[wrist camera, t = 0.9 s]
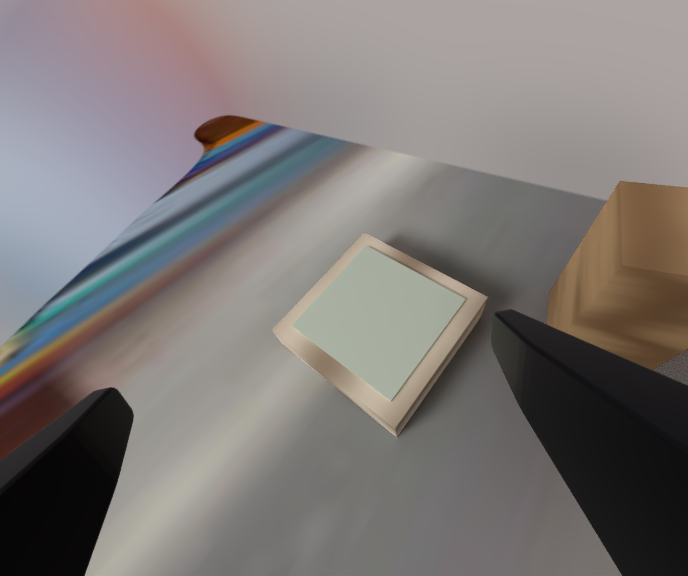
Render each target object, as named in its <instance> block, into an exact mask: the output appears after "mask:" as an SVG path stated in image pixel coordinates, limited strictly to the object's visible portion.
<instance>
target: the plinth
mask: <svg viewBox="0 0 688 576" xmlns="http://www.w3.org/2000/svg"><path fill="white" fill-rule="evenodd" d="M487 299H488V297H487V296H485V295H483V294H481V293H479V292H477V291H475V290H473V289H471V288H470V287H468V286H466V285H464V284H462V283H460V282H458V281H456V280H454V279H452V278H450V277H448V276H447V275H445V274H443V273H441V272H439V271H437V270H435V269H433V268H431V267H429V266H427V265H425V264H424V263H422V262H420V261H418V260H416V259H414V258H412V257H410V256H408V255H406V254H404V253H402V252H400V251H399V250H397V249H395V248H393V247H391V246H389V245H387V244H385V243H383V242H381V241H379V240H377V239H376V238H374V237H372V236H370V235H368V234H366V233H364V234H363V235H362V236H361V237H360V238H359V239H358V240H357V241H356V242H355V243H354V244H353V245H352V246H351V247H350V248H349V249H348V250H347V252H346V253H345V254H344V255H343V256H342V257H341V258H340V259H339V260H338V261H337V262H336V263H335V264H334V265H333V266H332V267H331V268H330V269H329V271H328V272H327V273H326V274H325V275H324V276H323V277H322V278H321V279H320V280H319V281H318V282H317V283H316V284H315V285H314V286H313V287H312V288H311V290H310V291H309V292H308V293H307V294H306V295H305V296H304V297H303V298H302V299H301V300H300V301H299V302H298V303H297V304H296V305H295V306H294V307H293V309H292V310H291V311H290V312H289V313H288V314H287V315H286V316H285V317H284V318H283V319H282V320H281V321H280V322H279V323H278V324H277V325H276V326H275V328H274V329H273V330H272V331H273V332H274V333H275V335H276V336H277V337H278V339H279V340H280V341H281V343H282V344H283V345H284V346H285V347H286V348H287V349H288V350H289V351H291V352H292V353H293V354H294V355H296V356H297V357H298V358H299V359H301V360H302V361H303V362H304V363H305V364H307V365H308V366H309V367H310V368H312V369H313V370H314V371H315V372H317V373H318V374H319V375H320V376H322V377H323V378H324V379H325V380H326V381H328V382H329V383H330V384H331V385H333V386H334V387H335V388H336V389H338V390H339V391H340V392H341V393H343V394H344V395H345V396H346V397H347V398H349V399H350V400H351V401H352V402H354V403H355V404H356V405H357V406H359V407H360V408H361V409H362V410H364V411H365V412H366V413H367V414H368V415H370V416H371V417H372V418H373V419H375V420H376V421H377V422H378V423H380V424H381V425H382V426H383V427H385V428H386V429H387V430H388V431H389V432H391V433H392V434H393V435H394V436H396V437H398V435H399V434H400V432H401V431H402V429H403V428H404V427H405V425H406V424H407V422H408V421H409V419H410V418H411V417H412V415H413V414H414V412H415V411H416V409H417V408H418V407H419V405H420V404H421V402H422V401H423V399H424V398H425V397H426V395H427V394H428V392H429V391H430V389H431V388H432V386H433V385H434V384H435V382H436V381H437V379H438V378H439V376H440V375H441V374H442V372H443V371H444V369H445V368H446V366H447V365H448V364H449V362H450V361H451V359H452V358H453V356H454V355H455V354H456V352H457V351H458V349H459V348H460V346H461V345H462V344H463V342H464V341H465V339H466V338H467V336H468V335H469V334H470V332H471V331H472V329H473V328H474V326H475V325H476V324H477V322H478V321H479V319H480V318H481V315H482V312H483V310H484V307H485V304H486V301H487Z"/></svg>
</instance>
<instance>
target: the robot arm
mask: <svg viewBox="0 0 688 576" xmlns="http://www.w3.org/2000/svg"><path fill="white" fill-rule="evenodd" d="M491 345H492V348H493V351H494V353H495V355H496V358H497V360H498V362H499V364H500V366H501V368H502V370H503V373H504V375H505V377H506V379H507V381H508V383H509V386H510V388H511V390H512V392H513V394H514V396H515V398H516V400H517V402H518V404H519V407H520V408H521V410H522V412H523V414H524V415H525V417H526V419H527V420H528V422H529V424H530V425H531V427H532V429H533V430H534V432H535V434H536V435H537V437H538V438H539V440H540V442H541V443H542V445H543V447H544V448H545V450H546V452H547V453H548V455H549V456H550V458H551V460H552V461H553V463H554V465H555V466H556V468H557V470H558V471H559V473H560V474H561V476H562V478H563V479H564V481H565V483H566V484H567V486H568V488H569V489H570V491H571V493H572V494H573V496H574V497H575V499H576V501H577V502H578V504H579V506H580V507H581V509H582V511H583V512H584V514H585V515H586V517H587V519H588V520H589V522H590V524H591V525H592V527H593V529H594V530H595V532H596V533H597V535H598V537H599V538H600V540H601V542H602V543H603V545H604V547H605V548H606V550H607V551H608V553H609V555H610V556H611V558H612V560H613V561H614V563H615V565H616V566H617V568H618V570H619V571H620V573H621V574H622V576H688V385H685V384H683V383H681V382H679V381H676V380H674V379H672V378H669V377H667V376H665V375H662V374H660V373H658V372H655V371H653V370H651V369H649V368H646V367H644V366H642V365H639V364H637V363H635V362H632V361H630V360H628V359H625V358H623V357H621V356H618V355H616V354H614V353H612V352H609V351H607V350H605V349H602V348H600V347H598V346H595V345H593V344H591V343H588V342H586V341H584V340H581V339H579V338H577V337H575V336H572V335H570V334H568V333H565V332H563V331H561V330H558V329H556V328H554V327H551V326H549V325H547V324H544V323H542V322H540V321H538V320H535V319H533V318H531V317H528V316H526V315H524V314H521V313H519V312H517V311H514V310H511V309H509V310H503V311H498V312H495V313H494V314H493V315H492V319H491ZM133 417H134V415H133V411H132V409H131V407H130V406H129V405H128V403H127V402H126V400H125V399H124V398H123V396H122V395H121V393H120V392H119V391H118V390H117V389H115V388H112V387H110V388H105V389H100V390H96V391H94V392H92V393H91V394H89V395H88V396H87V397H85V398H84V399H83V400H81V401H80V402H79V403H77V404H76V405H74V406H73V407H72V408H70V409H69V410H68V411H66V412H65V413H64V414H62V415H61V416H59V417H58V418H57V419H55V420H54V421H53V422H51V423H50V424H49V425H47V426H46V427H44V428H43V429H42V430H40V431H39V432H38V433H36V434H35V435H34V436H32V437H31V438H29V439H28V440H27V441H25V442H24V443H23V444H21V445H20V446H18V447H17V448H16V449H14V450H13V451H12V452H10V453H9V454H8V455H6V456H5V457H3V458H2V459H1V460H0V576H85V573H86V570H87V567H88V565H89V562H90V559H91V556H92V553H93V550H94V548H95V545H96V542H97V539H98V536H99V534H100V531H101V528H102V525H103V522H104V520H105V517H106V514H107V511H108V508H109V506H110V503H111V500H112V497H113V494H114V491H115V488H116V485H117V482H118V478H119V475H120V471H121V467H122V463H123V459H124V455H125V451H126V447H127V443H128V439H129V435H130V431H131V427H132V423H133Z"/></svg>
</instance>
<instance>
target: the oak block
mask: <svg viewBox="0 0 688 576" xmlns="http://www.w3.org/2000/svg"><path fill="white" fill-rule="evenodd" d="M547 325H549V326H551V327H554V328H556V329H558V330H561V331H563V332H565V333H568V334H570V335H572V336H575V337H577V338H579V339H581V340H584V341H586V342H588V343H591V344H593V345H595V346H598V347H600V348H602V349H605V350H607V351H609V352H612V353H614V354H616V355H618V356H621V357H623V358H625V359H628V360H630V361H632V362H635V363H637V364H639V365H642V366H644V367H646V368H649V369H651V370H653V369H654V368H656V367H658V366H659V365H661V364H663V363H664V362H666V361H668V360H669V359H671V358H673V357H675V356H676V355H678V354H680V353H681V352H683V351H685V350H686V349H688V188H686V187H675V186H665V185H655V184H645V183H635V182H624V181H620V182H619V183H618V185H617V186H616V188H615V189H614V191H613V193H612V194H611V196H610V197H609V199H608V201H607V202H606V204H605V205H604V207H603V208H602V210H601V212H600V213H599V215H598V216H597V218H596V220H595V221H594V223H593V224H592V226H591V227H590V229H589V231H588V232H587V234H586V235H585V237H584V239H583V240H582V242H581V243H580V245H579V246H578V248H577V250H576V251H575V253H574V254H573V256H572V257H571V259H570V261H569V262H568V264H567V265H566V267H565V269H564V270H563V272H562V273H561V275H560V276H559V278H558V280H557V281H556V283H555V284H554V286H553V288H552V289H551V291H550V295H549V307H548V319H547Z"/></svg>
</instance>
